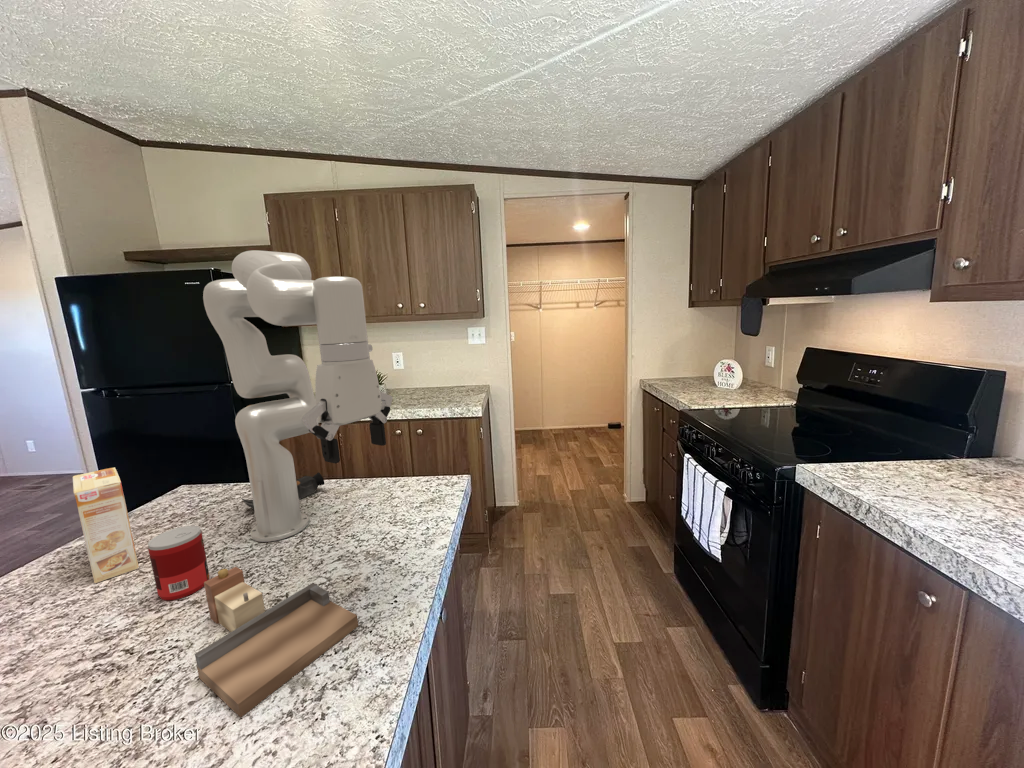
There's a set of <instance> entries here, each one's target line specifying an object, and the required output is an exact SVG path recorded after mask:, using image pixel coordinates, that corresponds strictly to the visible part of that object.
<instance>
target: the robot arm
mask: <svg viewBox="0 0 1024 768" xmlns="http://www.w3.org/2000/svg"><path fill="white" fill-rule="evenodd" d="M231 272H232V275H233V277H234V278H223V279H216V280H213V281H210V282H208V283H207V284H206V285H205V286H204V288H203V291H202V293H203V294H202V295H203V296H202V300H203V306H204V310H205V312H206V316H207V317H208V319H209V321H210V323H211V325H212V326H213V328H214V330H215V332H216V333H217V334H218V336H219V338H220V340H221V342H222V344H223V347H224V351H225V355H226V356H225V357H226V360H227V364H228V367H229V373H230V377H231V380H232V382H233V387H234V389H235V391H236V393H237V395H239V397H241V398H244V399H256V398H264V397H270V396H277V395H282V394H286V395H287V396H288V397H289V398H284V399H278V400H277V399H275V400H271V401H270V400H269V401H265V402H264V401H263V402H259V403H255V404H249V405H250V406H249V405H247V406H246V407H243V408H242V409H240V410H239V411H238V412H237V413H236V416H235V419H234V422H235V429H236V432H237V434H238V438H239V440H240V443H241V445H242V448H243V453H244V457H245V460H246V467H247V472H248V478H249V486H250V491H251V496H252V497H251V498H252V500H253V504H254V509H253V510H254V514H253V515H254V516H255V523H256V524H255V525H254V526H253V527H252V528H251V529H250V532H249V534H250V539H252V540H253V541H254V542H259V543H267V542H268V543H270V542H275V541H281V540H285V539H286V538H290V537H292V536H294V535H296V534H298V533H300V532H302V531H304V529H306V528H307V527H308V525H309V523H310V520H309V515H307V514H306V513H303V512H301V510H302V509H301V503H300V499H299V496H298V489H297V482H296V480H297V477H296V476H297V475H296V470H295V463H294V457H293V455H292V453H291V451H289V450H288V449H287V448H286V447H284V446H283V445H281V444H280V442H281V441H283V440H286V439H289V438H294V437H297V436H301V435H305V434H309V433H310V434H312V435H314V436H316V438H317V440H319V439H320V444H321V452H322V453H321V454H322V458H323V460H324V462H325V463H326V462H327V463H331V464H338V463H340V462H341V458H340V449H339V440H338V439H337V438H335V436H336V434H337V432H338V430H339V428H340V426H343V425H348V424H351V423H354V422H358V421H361V420H365V419H370V421H371V422H369V430H370V431H369V432H370V433H369V434H370V442H371V444H372V445H375V446H382V447H383V446H386V445H387V439H386V431H385V424H386V423H387V421H388V418H387V417H388V416H389V414H390V411H391V406H392V402H393V396H392V395H390V394H387V393H385V392H383V391H381V390H380V389H381V388H380V384H379V379H378V375H377V371H376V366H375V364H374V360H373V359H371V357H370V353H371V352H373V346H372V344H369V341H368V340H369V338H368V330H367V327H368V326H367V320H366V311H365V310H366V309H365V301H364V291H363V285H362V283H361V282H360V280H358V278H355V277H350V276H339V275H338V276H335V275H334V276H324V277H320V278H319V277H318V278H316V279H315V280H313V279H312V271H311V267H310V264H309V263H308V261H306V259H305V258H304V257H302V256H301V255H300V254H297V253H293V252H284V251H283V252H281V251H273V250H272V251H270V250H269V251H268V250H257V249H256V250H253V249H252V250H246V251H243V252H240V253H239V254H238V255H236V256H235V257H234V259H233V260H232V263H231ZM245 318H260V319H262V320H263V321H264V322H266V323H268V324H271V325H274V326H279V327H280V326H281V327H289V326H309V325H312V326H313V325H316V328H317V329H316V330H317V336H318V344H319V345H318V346H319V353H320V354H319V355H320V362H321V364H316V369H315V370H316V371H315V378H314V379H315V380H314V381H315V384H314V387H315V388H314V389H313V385H312V380H311V377H310V373H309V370H308V368H307V365H306V363H305V361H304V360H303V359H302V358H301V357H300V356H298V355H296V354H277V355H271V353H270V351H269V347H268V344H267V343H268V342H267V340H266V337H265V334H263V332H262V331H261V330H260V329H259V328H257V326H255V325H254V324H253V323H251V322H250V321H248V320H247V319H245ZM314 391H315V392H314ZM320 423H321V424H320Z"/></svg>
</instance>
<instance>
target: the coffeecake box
mask: <svg viewBox="0 0 1024 768" xmlns="http://www.w3.org/2000/svg"><path fill="white" fill-rule="evenodd" d="M72 490H73V495H74V498H75V499H74V500H75V501H76V507H77V510H78V517H79V520H80V525H81V529H82V534H83V539H84V543H85V547H86V553H87V557H88V560H89V565H90V570H91V574H92V579H93V583H94V584H99V583H102V582H103V581H106V580H109V579H112V578H115V577H117V576H121V575H124V574H126V573H130V572H133V571H135V570H138V569H140V566H139V561H138V556H137V553H136V548H135V542H134V537H133V532H132V528H131V523H130V518H129V514H128V513H129V512H128V509H127V504H126V499H125V495H124V491H123V490H124V489H123V486H122V481H121V478H120V476H119V473H118V471H117V469H116V467H109V468H104V469H100V470H99V469H98V470H95V471H90V472H86V473H81V474H76V475H73V476H72Z"/></svg>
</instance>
